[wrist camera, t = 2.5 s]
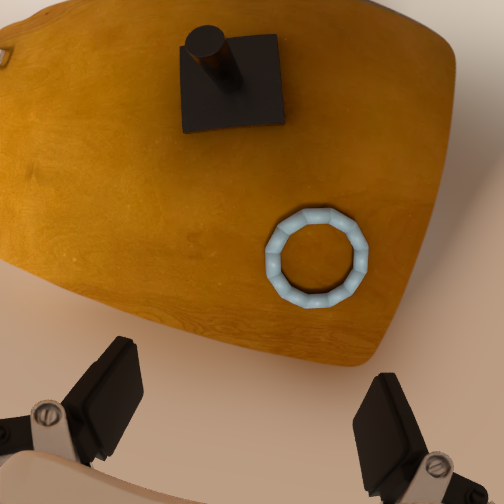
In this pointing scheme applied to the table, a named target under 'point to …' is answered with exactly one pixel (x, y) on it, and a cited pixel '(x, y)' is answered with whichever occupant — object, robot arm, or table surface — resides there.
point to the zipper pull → (1, 55)
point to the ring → (297, 223)
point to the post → (229, 81)
